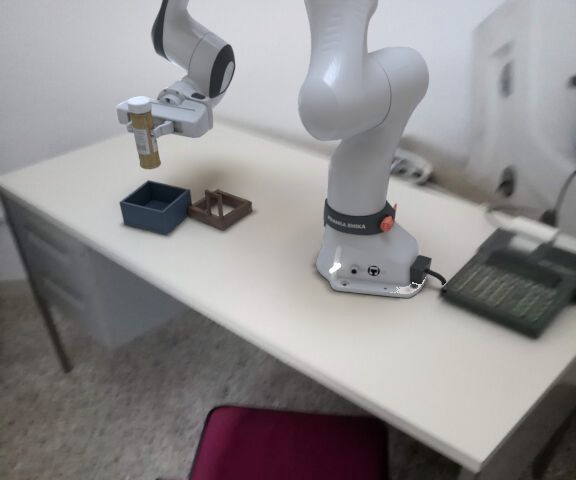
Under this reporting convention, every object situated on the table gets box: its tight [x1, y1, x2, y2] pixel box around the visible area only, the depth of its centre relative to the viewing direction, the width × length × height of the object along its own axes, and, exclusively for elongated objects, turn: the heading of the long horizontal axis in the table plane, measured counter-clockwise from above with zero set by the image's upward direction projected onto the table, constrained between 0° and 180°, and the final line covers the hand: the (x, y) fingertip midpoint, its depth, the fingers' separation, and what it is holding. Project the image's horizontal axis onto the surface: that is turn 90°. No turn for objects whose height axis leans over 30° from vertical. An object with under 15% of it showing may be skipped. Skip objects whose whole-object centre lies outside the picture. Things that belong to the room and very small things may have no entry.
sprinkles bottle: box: [126, 95, 162, 170], centre depth 122 cm, size 5×5×14 cm
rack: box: [187, 188, 253, 231], centre depth 133 cm, size 10×10×8 cm
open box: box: [118, 179, 193, 236], centre depth 133 cm, size 11×11×6 cm
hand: (141, 131), depth 121 cm, fingers closed on sprinkles bottle, 4 cm apart
